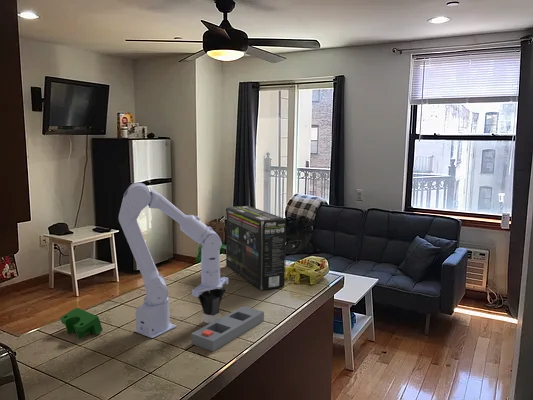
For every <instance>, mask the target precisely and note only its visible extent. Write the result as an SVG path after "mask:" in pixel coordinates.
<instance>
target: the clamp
mask: <svg viewBox="0 0 533 400" xmlns="http://www.w3.org/2000/svg"><path fill="white" fill-rule="evenodd" d="M60 321H61V324H63V325H64V326H65V328H66V331H67V334H68V335H71V334H72V333H74V332H75V335H76V336H77V339H78V340H80V339H81V338H83V337H85V336H86V335H87V334H92V335H93V336H97V335H99V334H100V333H102V332H103V326H102V323H101V320H100V317H99V316H98V315H96V314H94V313H91V312H89V311H86V310H84V309H81V308H79V307H75V308H73V309H72V310H70V311H68V312H67V313H65V314H63V315H62V316H61V317H60Z"/></svg>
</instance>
